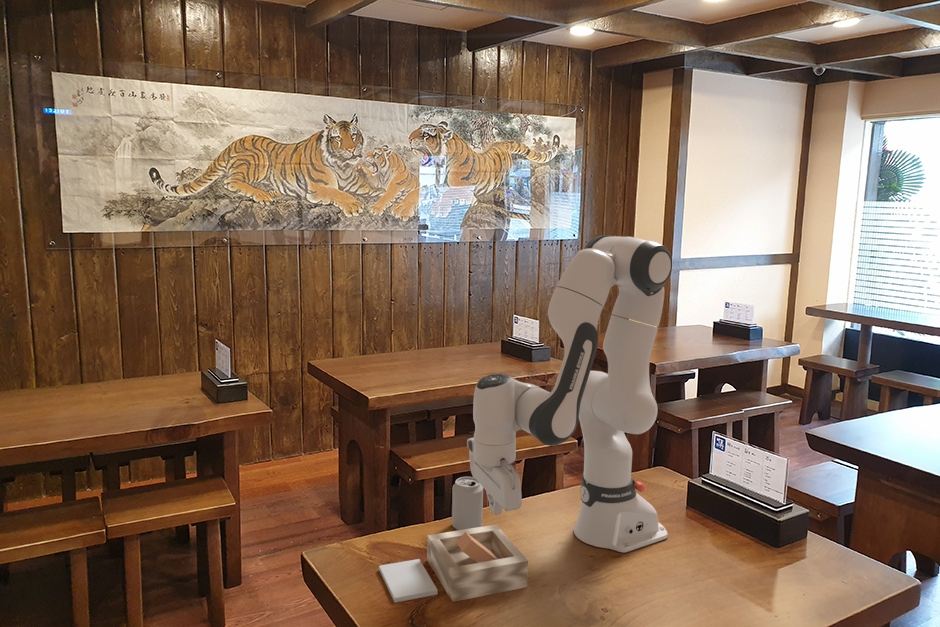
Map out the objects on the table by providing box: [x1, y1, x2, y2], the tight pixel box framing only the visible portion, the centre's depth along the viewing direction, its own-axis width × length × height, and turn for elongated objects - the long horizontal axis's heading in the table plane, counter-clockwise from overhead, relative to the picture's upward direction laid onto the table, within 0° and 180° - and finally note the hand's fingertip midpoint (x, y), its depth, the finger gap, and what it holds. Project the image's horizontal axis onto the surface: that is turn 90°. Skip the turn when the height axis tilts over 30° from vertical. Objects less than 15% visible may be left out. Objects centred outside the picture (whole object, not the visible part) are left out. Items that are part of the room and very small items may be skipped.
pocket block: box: [426, 524, 529, 603], centre depth 153 cm, size 16×17×6 cm
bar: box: [456, 532, 499, 563], centre depth 153 cm, size 10×4×3 cm
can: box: [451, 476, 484, 531], centre depth 173 cm, size 8×8×12 cm
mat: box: [378, 558, 439, 603], centre depth 149 cm, size 9×13×1 cm
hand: (495, 511), depth 153 cm, fingers closed
